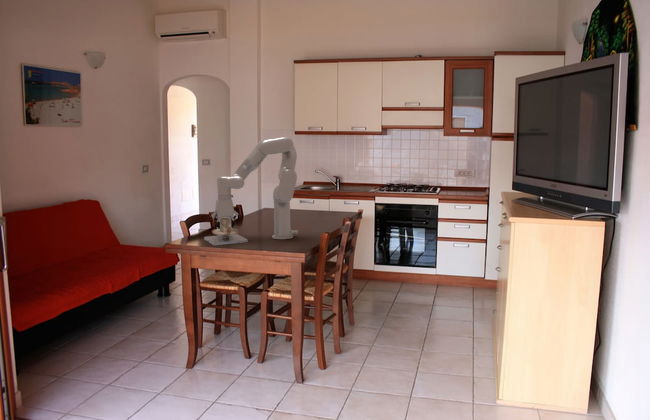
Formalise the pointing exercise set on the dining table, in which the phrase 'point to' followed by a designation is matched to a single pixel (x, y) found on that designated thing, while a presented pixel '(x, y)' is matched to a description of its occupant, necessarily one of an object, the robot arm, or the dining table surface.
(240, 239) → the eye plate
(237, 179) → the robot arm
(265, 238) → the dining table surface
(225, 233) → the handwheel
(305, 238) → the dining table surface
